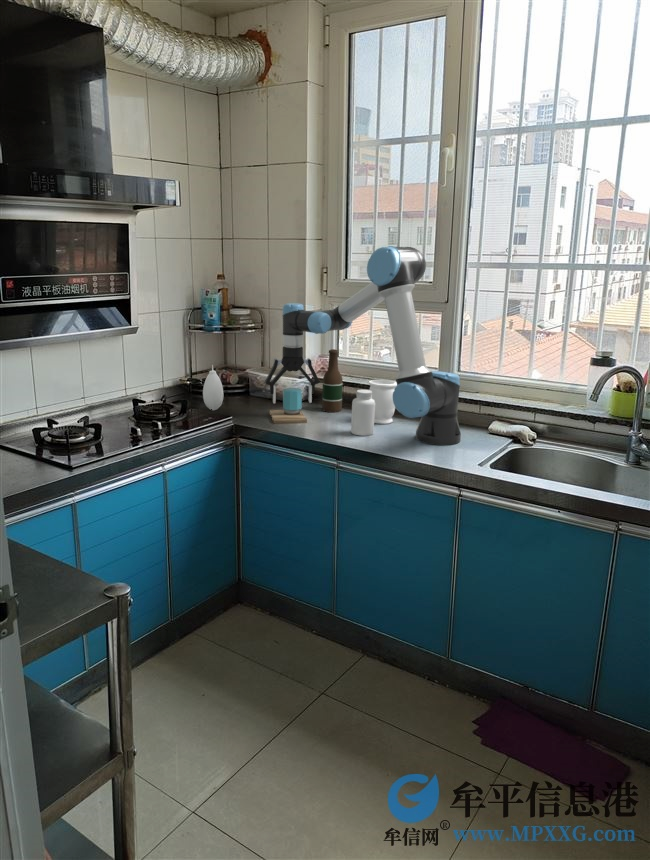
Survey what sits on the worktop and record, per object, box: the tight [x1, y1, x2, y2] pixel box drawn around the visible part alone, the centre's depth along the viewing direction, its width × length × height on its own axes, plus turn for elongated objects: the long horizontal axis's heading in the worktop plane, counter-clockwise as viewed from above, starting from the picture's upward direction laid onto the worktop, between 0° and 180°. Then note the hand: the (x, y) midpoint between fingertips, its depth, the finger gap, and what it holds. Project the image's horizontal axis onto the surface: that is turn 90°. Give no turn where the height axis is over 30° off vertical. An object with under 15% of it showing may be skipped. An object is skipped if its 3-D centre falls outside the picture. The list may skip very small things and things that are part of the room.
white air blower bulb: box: [202, 364, 224, 411], centre depth 257 cm, size 8×8×18 cm
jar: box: [368, 379, 397, 425], centre depth 246 cm, size 11×10×15 cm
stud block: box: [268, 408, 308, 424], centre depth 249 cm, size 16×12×9 cm
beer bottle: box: [321, 349, 344, 413], centre depth 260 cm, size 8×8×24 cm
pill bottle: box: [350, 389, 375, 437], centre depth 230 cm, size 8×8×15 cm
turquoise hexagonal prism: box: [282, 387, 303, 410], centre depth 251 cm, size 7×7×7 cm
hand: (292, 402), depth 251 cm, fingers open, 13 cm apart
